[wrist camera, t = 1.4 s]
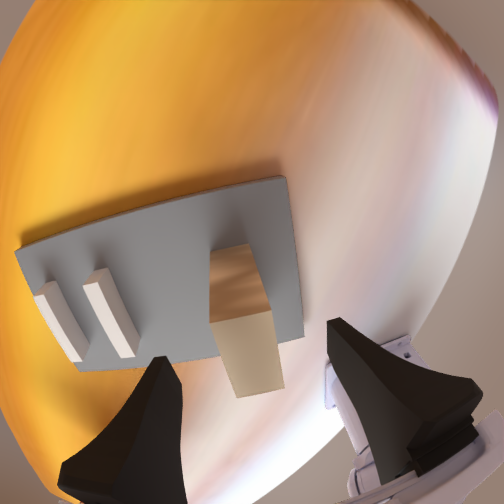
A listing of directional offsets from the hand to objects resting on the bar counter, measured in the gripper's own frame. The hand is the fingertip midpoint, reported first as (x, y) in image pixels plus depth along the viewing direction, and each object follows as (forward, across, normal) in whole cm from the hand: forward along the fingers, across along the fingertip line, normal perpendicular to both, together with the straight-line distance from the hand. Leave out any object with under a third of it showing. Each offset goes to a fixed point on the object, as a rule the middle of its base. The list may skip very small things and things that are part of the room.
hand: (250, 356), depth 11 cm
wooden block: (+7, 0, 0) cm, 7 cm away
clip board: (+8, +6, 0) cm, 10 cm away
